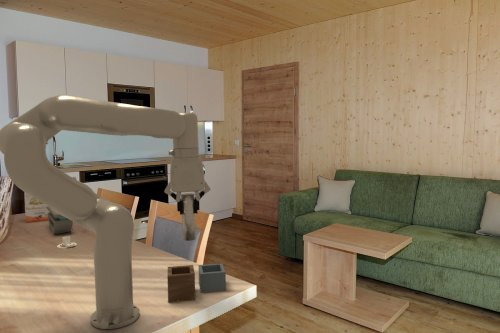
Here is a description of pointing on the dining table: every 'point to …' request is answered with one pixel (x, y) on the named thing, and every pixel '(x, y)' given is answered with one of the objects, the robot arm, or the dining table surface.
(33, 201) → the cracker box
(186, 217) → the steel axle
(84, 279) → the dining table surface
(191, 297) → the brown wooden socket block
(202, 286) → the blue-grey square holder
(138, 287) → the dining table surface
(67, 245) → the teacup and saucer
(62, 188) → the robot arm
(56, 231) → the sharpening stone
